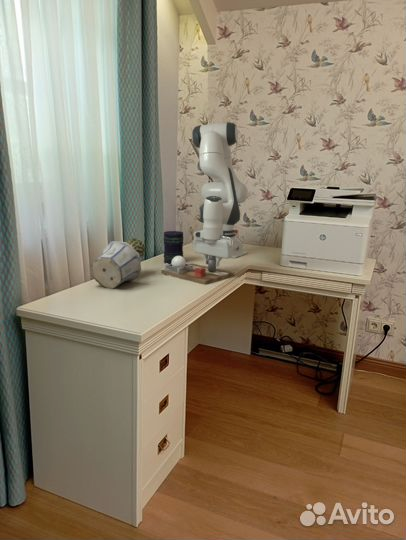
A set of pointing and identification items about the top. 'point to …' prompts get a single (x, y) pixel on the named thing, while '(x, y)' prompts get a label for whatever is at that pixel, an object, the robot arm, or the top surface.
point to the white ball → (178, 262)
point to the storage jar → (172, 245)
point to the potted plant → (118, 263)
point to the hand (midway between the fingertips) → (212, 265)
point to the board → (200, 279)
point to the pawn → (211, 263)
